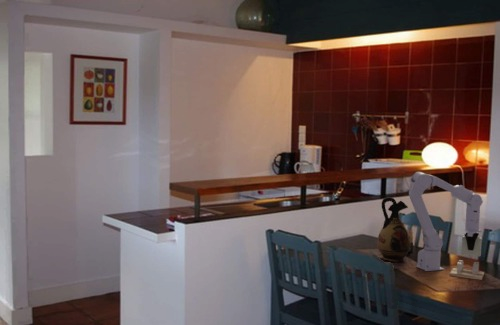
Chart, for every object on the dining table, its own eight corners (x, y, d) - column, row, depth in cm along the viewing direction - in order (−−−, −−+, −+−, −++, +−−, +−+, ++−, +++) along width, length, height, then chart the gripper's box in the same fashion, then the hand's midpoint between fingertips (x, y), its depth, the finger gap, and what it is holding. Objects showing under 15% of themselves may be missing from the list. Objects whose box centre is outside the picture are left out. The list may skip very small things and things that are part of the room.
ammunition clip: (393, 253, 291) (394, 229, 290) (391, 252, 293) (392, 228, 292) (413, 252, 293) (414, 229, 292) (411, 251, 295) (412, 228, 294)
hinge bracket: (481, 279, 246) (482, 268, 246) (449, 275, 252) (450, 264, 252) (484, 274, 255) (484, 262, 255) (453, 270, 261) (453, 259, 261)
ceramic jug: (406, 256, 285) (409, 195, 283) (412, 264, 270) (415, 200, 267) (371, 254, 287) (373, 194, 284) (375, 262, 272) (377, 199, 269)
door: (480, 256, 260) (481, 238, 259) (461, 254, 264) (462, 236, 263) (480, 254, 263) (481, 237, 262) (462, 252, 266) (463, 235, 266)
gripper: (480, 223, 253) (478, 253, 254) (483, 218, 266) (482, 247, 267) (463, 221, 256) (461, 251, 258) (467, 216, 269) (465, 245, 270)
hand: (470, 249), depth 263 cm, fingers closed on door, 2 cm apart
